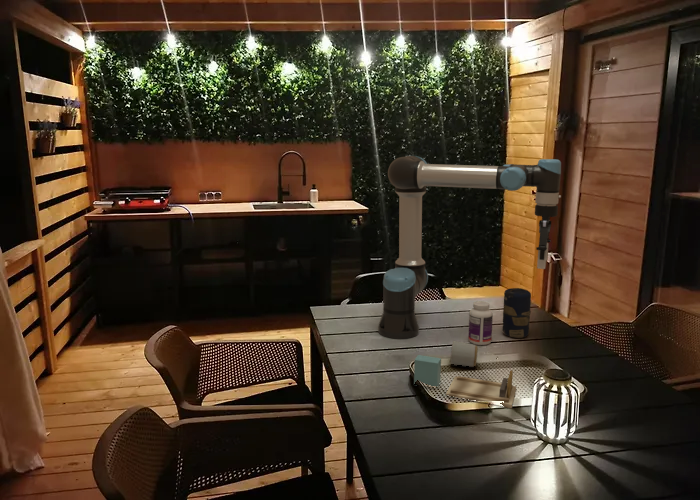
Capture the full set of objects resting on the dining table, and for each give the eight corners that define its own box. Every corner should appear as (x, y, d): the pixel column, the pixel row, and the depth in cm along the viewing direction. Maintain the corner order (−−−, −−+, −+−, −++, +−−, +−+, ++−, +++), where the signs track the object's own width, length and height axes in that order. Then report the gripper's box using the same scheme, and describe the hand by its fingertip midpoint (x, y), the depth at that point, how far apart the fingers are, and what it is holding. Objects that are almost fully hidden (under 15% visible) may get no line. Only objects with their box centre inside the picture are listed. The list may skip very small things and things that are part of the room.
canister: (531, 339, 200) (535, 291, 196) (505, 339, 200) (508, 291, 196) (524, 330, 209) (527, 284, 205) (499, 330, 209) (501, 284, 206)
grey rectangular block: (476, 371, 174) (477, 348, 172) (449, 368, 176) (450, 345, 174) (477, 358, 184) (478, 336, 182) (452, 356, 186) (453, 334, 184)
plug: (413, 385, 164) (414, 359, 163) (417, 379, 168) (418, 354, 166) (437, 389, 162) (437, 363, 160) (440, 383, 165) (441, 358, 164)
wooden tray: (446, 396, 157) (446, 373, 155) (454, 379, 168) (455, 358, 166) (511, 408, 150) (513, 384, 149) (516, 389, 161) (517, 367, 160)
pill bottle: (489, 338, 201) (491, 300, 198) (492, 346, 194) (495, 307, 191) (467, 337, 202) (468, 299, 199) (469, 345, 194) (471, 306, 191)
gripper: (557, 209, 178) (552, 273, 183) (559, 200, 201) (554, 257, 206) (532, 208, 181) (528, 271, 186) (537, 199, 204) (533, 256, 208)
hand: (542, 264), depth 196 cm, fingers open, 13 cm apart
